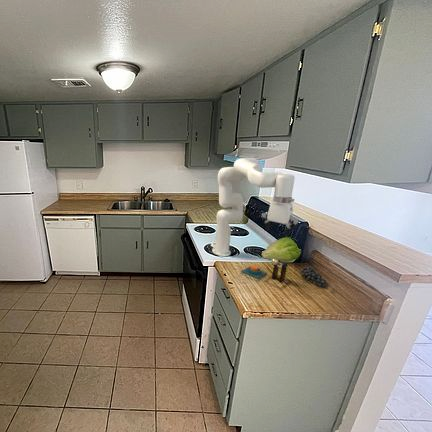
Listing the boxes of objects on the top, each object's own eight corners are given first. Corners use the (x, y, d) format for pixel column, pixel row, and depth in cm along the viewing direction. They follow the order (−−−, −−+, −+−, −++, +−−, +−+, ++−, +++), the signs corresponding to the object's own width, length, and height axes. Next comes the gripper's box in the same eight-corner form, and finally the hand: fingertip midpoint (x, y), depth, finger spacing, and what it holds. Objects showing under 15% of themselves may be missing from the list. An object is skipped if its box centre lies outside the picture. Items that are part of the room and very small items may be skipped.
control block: (240, 274, 142) (241, 268, 141) (249, 269, 148) (250, 263, 147) (257, 281, 134) (258, 275, 133) (266, 275, 140) (267, 269, 139)
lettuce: (269, 270, 154) (258, 261, 170) (308, 260, 152) (294, 251, 168) (264, 249, 152) (254, 241, 167) (304, 238, 150) (290, 231, 165)
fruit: (333, 275, 123) (308, 261, 137) (319, 281, 123) (296, 267, 137) (333, 288, 126) (309, 274, 140) (320, 294, 126) (297, 279, 140)
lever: (276, 265, 123) (278, 259, 123) (269, 262, 125) (271, 257, 125) (283, 269, 131) (285, 264, 132) (277, 267, 134) (279, 262, 134)
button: (249, 269, 140) (249, 266, 140) (252, 267, 143) (253, 264, 142) (255, 272, 137) (256, 269, 137) (259, 269, 140) (259, 267, 139)
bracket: (281, 288, 128) (285, 268, 124) (264, 281, 134) (267, 262, 131) (290, 281, 135) (294, 262, 132) (274, 275, 142) (277, 256, 138)
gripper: (304, 201, 113) (298, 236, 117) (267, 196, 126) (263, 227, 131) (298, 203, 108) (292, 239, 113) (260, 198, 122) (256, 230, 126)
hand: (276, 232), depth 122 cm, fingers open, 9 cm apart
